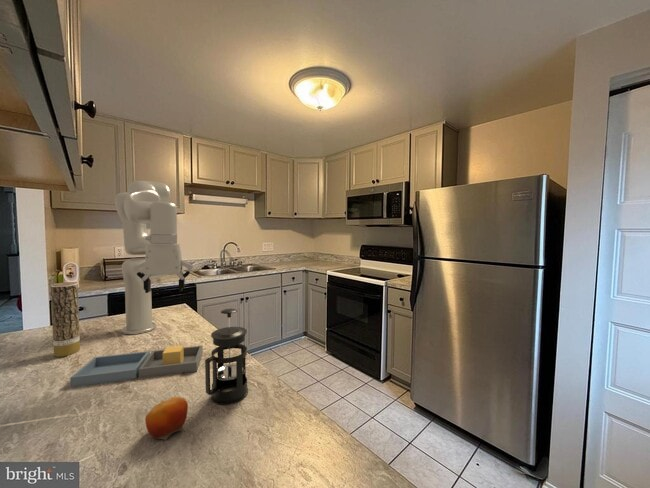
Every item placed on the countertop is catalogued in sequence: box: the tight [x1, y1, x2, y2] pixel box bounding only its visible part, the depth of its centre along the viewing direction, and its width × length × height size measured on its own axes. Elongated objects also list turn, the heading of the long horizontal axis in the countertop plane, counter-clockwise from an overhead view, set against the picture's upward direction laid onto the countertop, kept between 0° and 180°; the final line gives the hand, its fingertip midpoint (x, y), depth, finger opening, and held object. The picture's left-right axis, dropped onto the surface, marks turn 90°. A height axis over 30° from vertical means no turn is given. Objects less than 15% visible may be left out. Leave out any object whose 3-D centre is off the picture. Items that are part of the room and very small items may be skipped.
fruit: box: [145, 396, 189, 441], centre depth 60 cm, size 8×8×8 cm
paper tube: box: [50, 281, 81, 358], centre depth 97 cm, size 7×7×25 cm
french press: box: [204, 308, 249, 406], centre depth 73 cm, size 12×9×23 cm
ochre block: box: [163, 344, 184, 365], centre depth 89 cm, size 5×5×5 cm
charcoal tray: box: [138, 345, 203, 379], centre depth 89 cm, size 13×16×3 cm
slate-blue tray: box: [69, 350, 151, 388], centre depth 84 cm, size 13×16×3 cm
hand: (164, 291), depth 91 cm, fingers open, 9 cm apart
